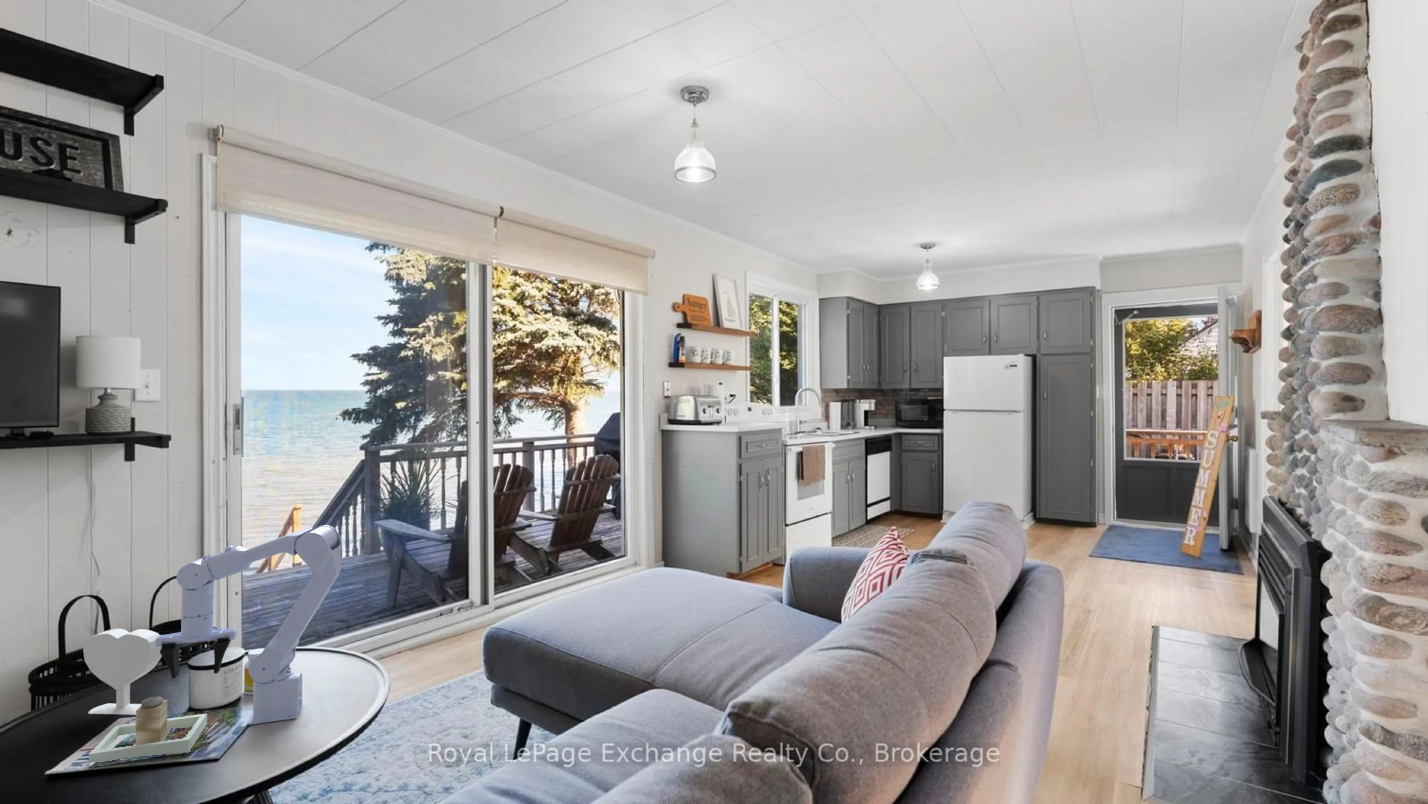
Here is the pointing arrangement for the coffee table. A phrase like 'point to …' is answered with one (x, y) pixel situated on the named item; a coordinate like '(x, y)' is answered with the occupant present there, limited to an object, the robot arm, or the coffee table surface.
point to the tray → (149, 749)
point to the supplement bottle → (247, 678)
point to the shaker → (151, 721)
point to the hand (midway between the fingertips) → (196, 673)
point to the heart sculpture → (121, 663)
